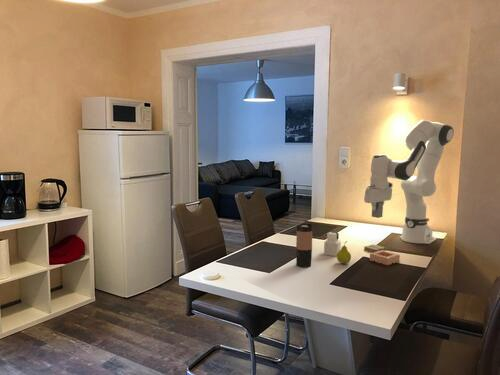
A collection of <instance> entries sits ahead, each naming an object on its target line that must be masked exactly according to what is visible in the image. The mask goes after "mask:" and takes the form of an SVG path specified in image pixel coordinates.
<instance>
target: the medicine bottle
mask: <svg viewBox="0 0 500 375" xmlns="http://www.w3.org/2000/svg"><path fill="white" fill-rule="evenodd" d="M339 235H340V234H339V232H337V231H328V232H327V233H326V240H325V241H324V243H323V244H324V246H323V255H324V256H330V257H337V253H338V252H339V251H340V250H341V247H342V246H341V244H342V243H341V240H340V239H339Z"/></svg>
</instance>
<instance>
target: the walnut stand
mask: <svg viewBox="0 0 500 375" xmlns="http://www.w3.org/2000/svg"><path fill="white" fill-rule="evenodd" d="M363 248H364V249H363V251H365V252H369V253H374V252H377V251H380V250H383V251H386V247H384V246H381V245H376V244H370V245H366V246H364V247H363Z"/></svg>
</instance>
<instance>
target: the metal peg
mask: <svg viewBox="0 0 500 375" xmlns="http://www.w3.org/2000/svg"><path fill="white" fill-rule="evenodd" d="M375 205H376V207H377V210H375V211H374V210H372V209H371V217H372V218H376V219H377V218H378V219H379V218H380V219H381V218H383V214H384V212H383V211H384V210H383V209H384V205H383V202H376V204H375Z"/></svg>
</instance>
